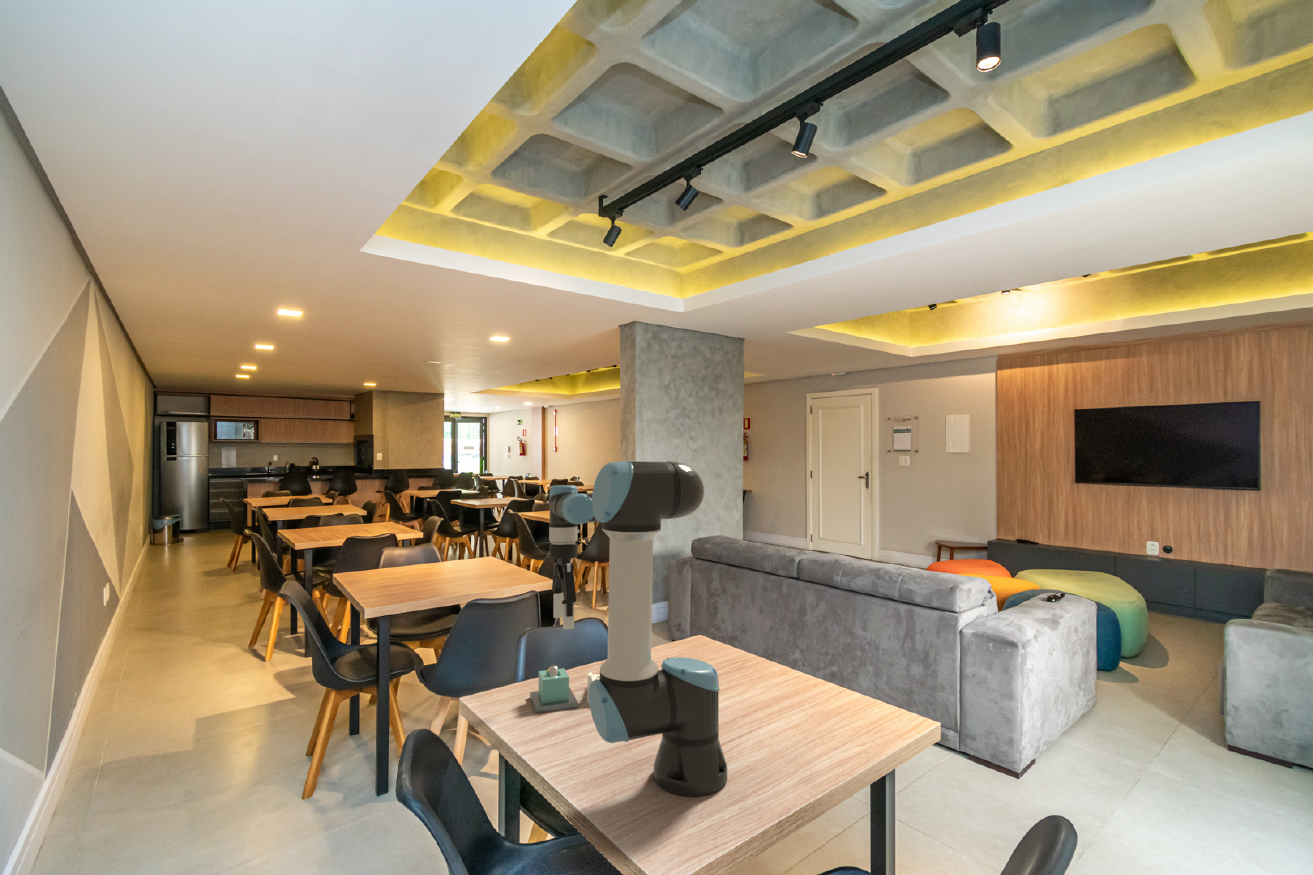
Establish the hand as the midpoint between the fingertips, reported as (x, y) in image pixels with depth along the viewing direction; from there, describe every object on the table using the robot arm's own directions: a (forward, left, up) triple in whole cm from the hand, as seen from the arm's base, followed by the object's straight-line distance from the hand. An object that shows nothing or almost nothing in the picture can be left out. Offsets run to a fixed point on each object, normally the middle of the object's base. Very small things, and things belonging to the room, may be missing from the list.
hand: (563, 622), depth 162 cm
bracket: (+4, -12, -22) cm, 26 cm away
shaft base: (+3, +2, -22) cm, 22 cm away
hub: (+3, +2, -20) cm, 21 cm away
